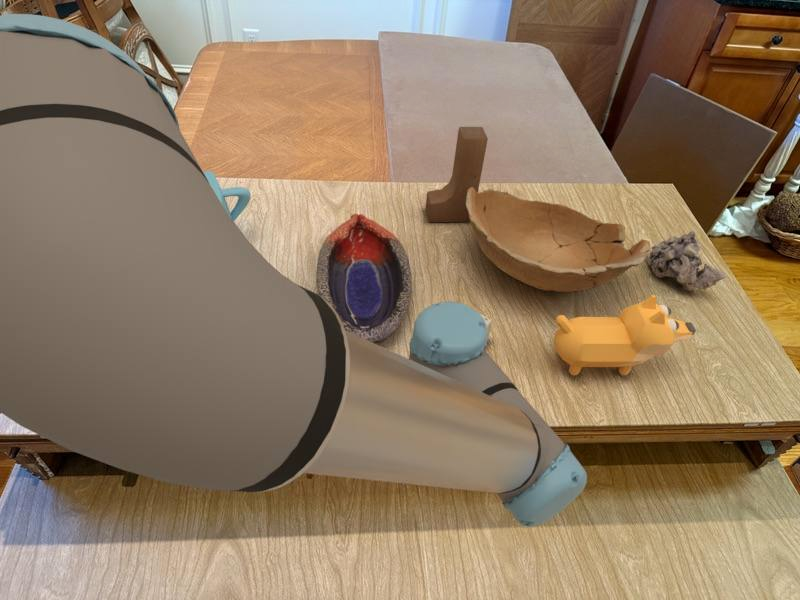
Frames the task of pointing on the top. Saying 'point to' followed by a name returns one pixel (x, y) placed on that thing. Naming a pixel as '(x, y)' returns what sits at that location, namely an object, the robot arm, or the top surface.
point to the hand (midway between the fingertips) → (203, 329)
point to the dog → (619, 337)
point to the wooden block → (459, 178)
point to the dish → (365, 278)
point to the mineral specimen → (683, 263)
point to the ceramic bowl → (549, 242)
